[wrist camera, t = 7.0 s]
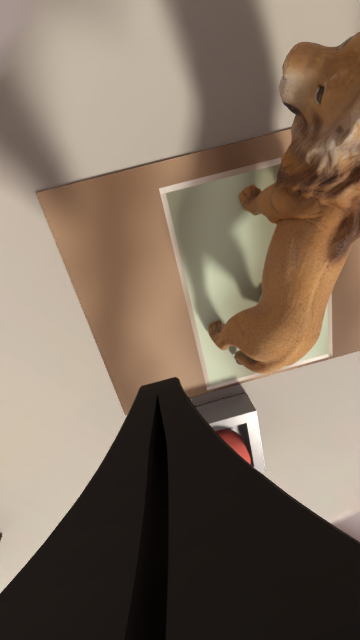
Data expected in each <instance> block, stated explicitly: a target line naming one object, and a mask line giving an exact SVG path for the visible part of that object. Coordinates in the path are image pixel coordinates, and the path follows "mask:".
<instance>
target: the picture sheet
mask: <svg viewBox="0 0 360 640" xmlns="http://www.w3.org/2000/svg"><path fill="white" fill-rule="evenodd" d="M291 140H292V135H291V129H288V130H284V131H280V132H276V133H272V134H268V135H264V136H260V137H256V138H252V139H248V140H244V141H240V142H236V143H232V144H228V145H224V146H220V147H216V148H212V149H208V150H204V151H200V152H196V153H192V154H188V155H185V156H181V157H177V158H173V159H169V160H165V161H161V162H157V163H153V164H149V165H145V166H141V167H137V168H133V169H129V170H125V171H121V172H117V173H113V174H109V175H105V176H101V177H97V178H93V179H89V180H85V181H81V182H77V183H73V184H69V185H65V186H61V187H57V188H53V189H49V190H45V191H41V192H37V193H36V194H37V197H38V199H39V202H40V204H41V207H42V209H43V212H44V214H45V217H46V219H47V222H48V224H49V227H50V229H51V232H52V234H53V237H54V239H55V241H56V244H57V246H58V249H59V251H60V254H61V256H62V259H63V261H64V264H65V266H66V269H67V271H68V274H69V276H70V279H71V281H72V284H73V286H74V289H75V291H76V294H77V296H78V299H79V301H80V304H81V306H82V309H83V311H84V314H85V316H86V318H87V321H88V323H89V326H90V328H91V331H92V333H93V336H94V338H95V341H96V343H97V346H98V348H99V351H100V353H101V356H102V358H103V361H104V363H105V366H106V368H107V371H108V373H109V376H110V378H111V381H112V383H113V386H114V388H115V390H116V393H117V395H118V398H119V400H120V403H121V405H122V408H123V410H124V413H125V415H128V413H129V411H130V409H131V406H132V404H133V402H134V400H135V397H136V395H137V393H138V390H139V389H140V387H141V386H143V385H147V384H151V383H154V382H158V381H162V380H165V379H169V378H173V377H177V378H179V380H180V383H181V386H182V388H183V389H184V391H185V393H186V395H187V396H188V398H190V397H194V396H197V395H201V394H205V393H208V392H212V391H215V390H219V389H223V388H226V387H230V386H234V385H237V384H241V383H244V382H248V381H252V380H255V379H259V378H263V377H266V376H270V375H273V374H277V373H281V372H284V371H288V370H292V369H295V368H299V367H303V366H306V365H310V364H313V363H317V362H321V361H324V360H328V359H332V358H335V357H339V356H342V355H346V354H350V353H353V352H357V351H360V238H358V239H357V240H355V241H354V243H353V245H352V247H351V249H350V252H349V254H348V256H347V259H346V261H345V264H344V266H343V268H342V270H341V272H340V274H339V276H338V279H337V281H336V283H335V285H334V288H333V290H332V293H331V295H330V298H329V300H328V303H327V306H326V310H325V314H324V319H323V323H322V328H321V333H320V336H319V338H318V340H317V342H316V343H315V345H314V346H313V347H312V348H311V350H310V351H309V352H308V353H307V354H306V355H305V356H304V357H302V358H301V359H300V360H299V361H297V362H296V363H294V364H292V365H290V366H284V367H283V368H281V369H279V370H277V371H275V372H272V373H268V374H261V373H256V372H253V371H251V370H249V369H247V368H246V367H245V366H243V365H239V364H237V363H236V360H235V358H234V356H235V353H236V352H237V351H239V350H240V349H239V348H237V347H235V346H230V347H228V349H227V350H221V349H220V348H218V347H217V346H216V344H215V343H214V342H213V341H212V339H211V337H210V336H209V333H208V327H209V325H210V324H211V323H212V322H214V321H218V320H220V321H222V322H223V323H224V324H226V322H227V321H228V320H229V319H230V318H231V317H232V316H234V315H235V314H237V313H239V312H241V311H243V310H245V309H248V308H251V307H253V306H256V305H257V304H258V303H259V298H260V295H261V294H262V274H263V268H264V263H265V259H266V255H267V250H268V247H269V244H270V241H271V238H272V236H273V233H274V231H275V228H276V224H274V223H271V222H270V221H269V220H268V219H267V217H266V216H264V215H262V214H259V215H257V216H254V215H253V214H251V213H249V212H247V211H246V210H245V209H244V208H243V206H242V205H241V202H240V199H239V194H240V193H241V192H242V191H243V189H244V188H245V187H248V186H250V185H252V184H253V185H255V186H256V187H257V188H260V189H261V191H263V190H264V189H265V188H267V187H268V186H270V185H272V184H274V183H275V182H276V181H277V173H278V170H279V167H280V164H281V158H282V156H283V155H284V153H285V152H286V151H287V149H288V147H289V145H290V144H291Z"/></svg>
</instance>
